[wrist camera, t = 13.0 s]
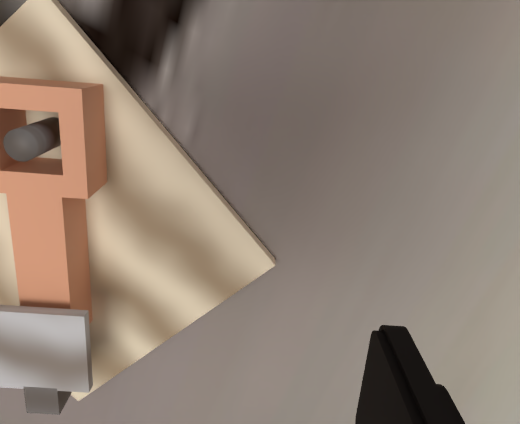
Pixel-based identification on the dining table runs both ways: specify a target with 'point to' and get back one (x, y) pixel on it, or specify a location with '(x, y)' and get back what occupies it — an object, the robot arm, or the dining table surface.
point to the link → (53, 190)
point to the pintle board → (113, 229)
